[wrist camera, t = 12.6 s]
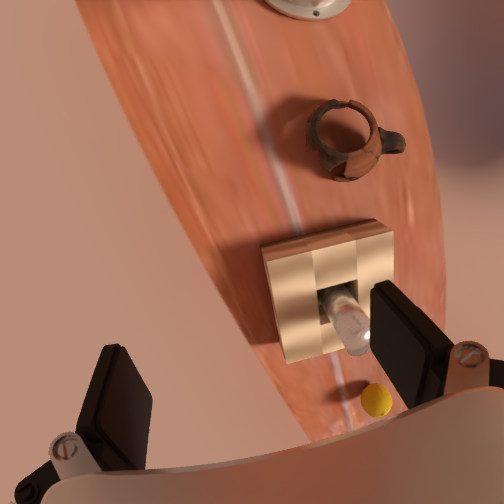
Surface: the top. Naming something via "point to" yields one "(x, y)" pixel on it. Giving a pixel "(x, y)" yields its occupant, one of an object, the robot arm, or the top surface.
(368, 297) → the bore block
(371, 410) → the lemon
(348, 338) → the pin
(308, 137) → the pottery mug
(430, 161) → the top surface
